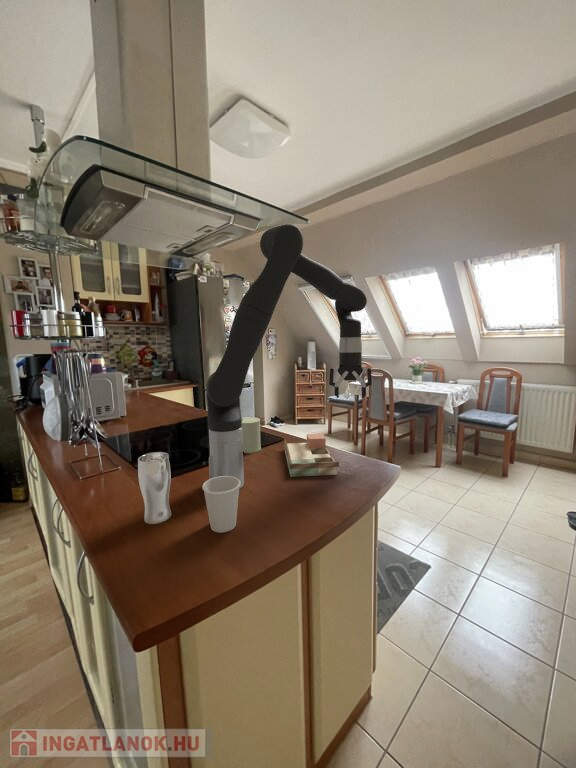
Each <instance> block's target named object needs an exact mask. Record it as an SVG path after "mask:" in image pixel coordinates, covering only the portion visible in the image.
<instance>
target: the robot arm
mask: <svg viewBox="0 0 576 768" xmlns="http://www.w3.org/2000/svg"><path fill="white" fill-rule="evenodd" d="M259 240H260V242H259V247H260V251H261V253H262V254H263V256H264V258H266V259H267V261H266V263H265V264H264V265H265V266H264V267H263V270H262V271H261V273H260V274H259V276H257V278H256V279H255V281H254V282H253V283H252V284H251V285H250V287H249V288H248V290H247V291H246V292H245V293H244V295H243V297H242V298H241V300H240V302H239V305H238V308H237V310H236V312H235V315H234V317H233V321H232V323H231V328H230V330H229V334H228V340H227V344H226V347H225V350H224V351H225V352H224V354H223V356H222V358H221V360H220V363H219V364H218V365H217V368H216V370H215V371H214V372H213V373H211V374H210V375H209V377H208V379H207V381H206V387H205V388H206V403H207V404H206V405H207V422H208V437H209V438H208V439H209V440H208V441H209V443H208V444H209V456H208V470H209V473H208V474H209V479H211V478H214V477H219V476H232V477H235V478H237V479H239V480H240V483H241V484H240V486H239V490H240V489H241V488H242V487H243V486H244V485H245V475H244V474H245V473H244V453H243V441H242V418H243V417H242V412H241V411H242V410H241V399H240V397H241V395H242V393H243V388H244V385H245V382H246V378H247V374H248V371H249V368H250V366H251V364H252V360H253V358H254V356H255V354H256V353H257V350H258V349H259V346H260V344H261V343H262V341H263V337H264V336H265V333H266V332H267V330H268V327H269V325H270V322H271V320H272V317H273V314H274V312H275V310H276V306H277V304H278V302H279V299H280V298H281V295H282V293H283V289H284V288H285V285H286V283H287V281H288V279H289V277H290V275H291V274H292V273H293V274H294V275H296V276H297V277H299V278H300V279H302V280H303V281H305V282H306V283H308V284H309V285H311V286H312V287H313V288H315V289H316V290H318V292H320V293H321V294H322V295H323V296H325V297H327V298H328V299H330V300H331V301H335V302H334V309H335V312H336V316H337V320H338V323H339V343H338V344H339V345H338V347H339V348H338V359H339V361H338V368H336V367H335V368H334V367H331V368H330V369H329V380H328V381H329V383H328V384H329V386H331V387H334V388H333V389H334V396H335V397H336V399H338V398H340V397H339V396H340V387H339V385H340V384H341V383H342V382H343V381H351V382H352V381H353V382H354V381H356V380H357V382H358V383H359V384H360V386H361V399H364V398H366V396H367V387H369V386H370V387H371V386H372V381H373V380H372V368H371V367H366V368H363V367H362V358H363V356H362V355H363V354H362V351H363V345H362V343H363V342H362V323H361V321H360V320H359V319H355V318H353V315H352V313H354V312H355V313H356V312H360V311H361V312H362V310H364V309H365V308H366V305H367V301H368V300H367V299H368V298H367V296H366V293H365V291H363V290H362V289H361V288H360V287H358V286H356V285H354V284H352V283H350V282H348V281H345V280H343V279H342V278H341V277H340V276H339V275H337V274H336V273H335V272H334V271H333V270H332V269H330V268H329V267H327V266H325V265H323V264H321V263H319V262H318V261H315V260H313V259H310V257H307V256H306V255H305V254H303V253H302V252H303V249H304V248H303V247H304V237H303V233H302V231H301V228H299V227H298V226H297V225H295V224H291V223H287V224H286V223H285V224H281V225H277V226H273V227H271V228H268V229H267V230H265V231H264V232H263V233H262V235H261V237H260V239H259ZM337 372H338V374H339V375H340V377H339V378H338V379H337V381H336V382H334V375H336V374H337ZM363 372H364V374H365V375H367V382H365V380H363V378H362V376H361V375H362V373H363Z"/></svg>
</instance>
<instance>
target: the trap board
mask: <svg viewBox="0 0 576 768" xmlns="http://www.w3.org/2000/svg"><path fill="white" fill-rule="evenodd" d="M283 441H284V442H283V443H284V453H285V458H286V464H287V467H288V472H289V476H290V478H293V477H294V478H295V477H296V478H297V477H314V476H332V475H333V476H334V475H335V476H336V475H337V474H338V468H339V467H340V464H339V463H340V461H339V460H338V461H336V460H335V458H334V457H333V456H331V455H332V454H331V452H330V450H329V449H328V448H327V447H326V448H309V447H308V445H307V442H295V443H294V442H292V443H290V442H289V443H288V442H287V439H284V440H283Z"/></svg>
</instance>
